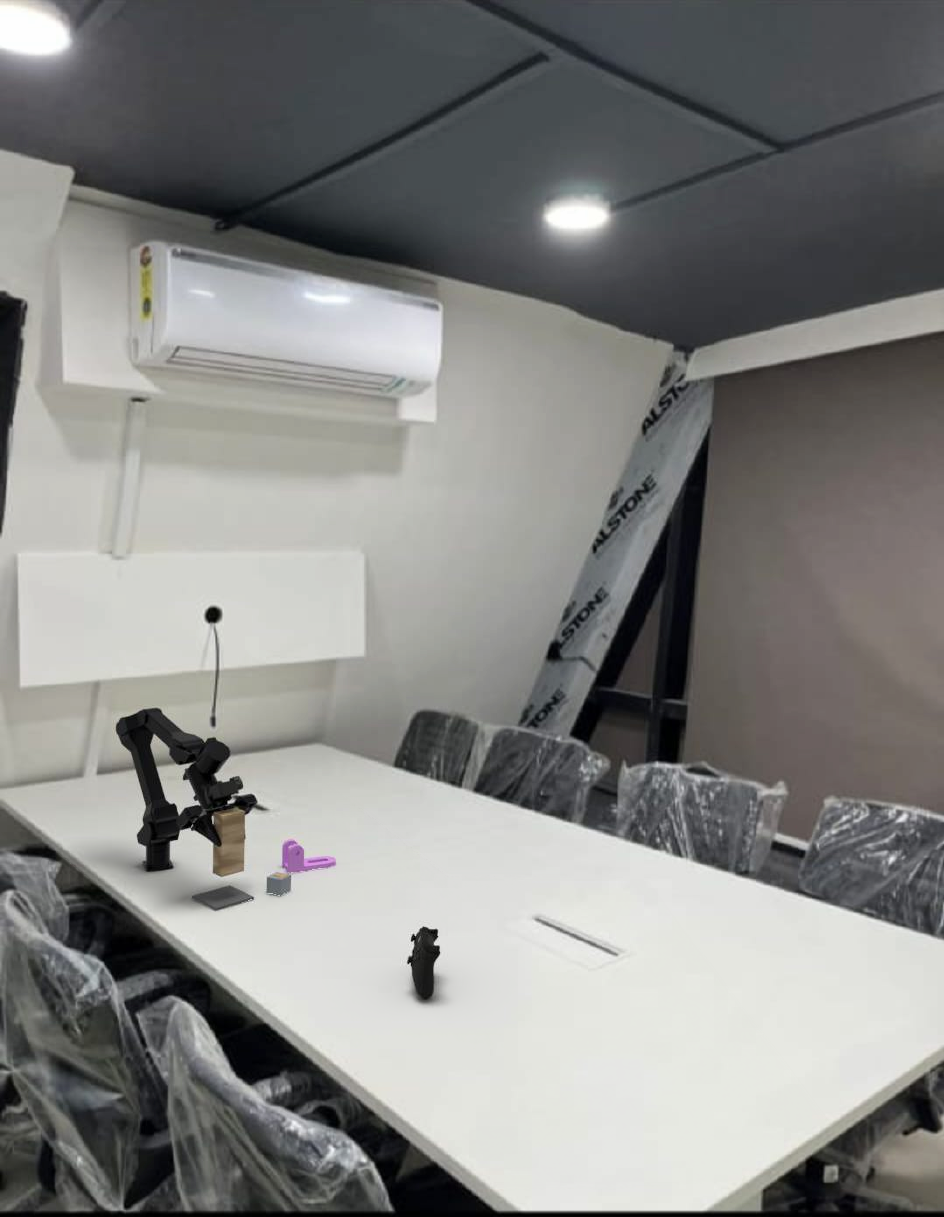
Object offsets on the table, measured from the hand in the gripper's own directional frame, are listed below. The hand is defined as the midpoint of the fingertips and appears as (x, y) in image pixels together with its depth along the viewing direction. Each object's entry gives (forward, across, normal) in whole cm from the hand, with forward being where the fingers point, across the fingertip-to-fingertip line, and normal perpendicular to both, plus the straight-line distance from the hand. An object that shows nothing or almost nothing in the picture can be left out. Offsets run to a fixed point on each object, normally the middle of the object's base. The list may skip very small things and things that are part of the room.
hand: (232, 842), depth 225 cm
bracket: (+6, +27, +14) cm, 31 cm away
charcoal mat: (+8, -1, +11) cm, 14 cm away
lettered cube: (+12, +11, +7) cm, 18 cm away
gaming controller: (+52, +2, -33) cm, 61 cm away
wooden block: (+4, 0, +6) cm, 7 cm away
